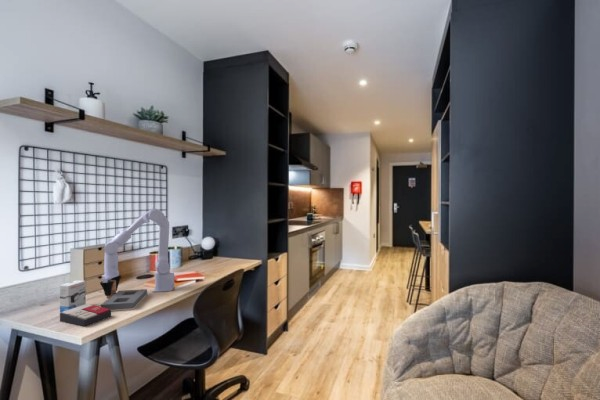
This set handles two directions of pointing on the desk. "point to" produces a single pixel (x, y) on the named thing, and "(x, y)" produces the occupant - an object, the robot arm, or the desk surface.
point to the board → (125, 300)
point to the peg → (113, 289)
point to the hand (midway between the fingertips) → (111, 293)
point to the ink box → (72, 295)
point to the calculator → (85, 315)
